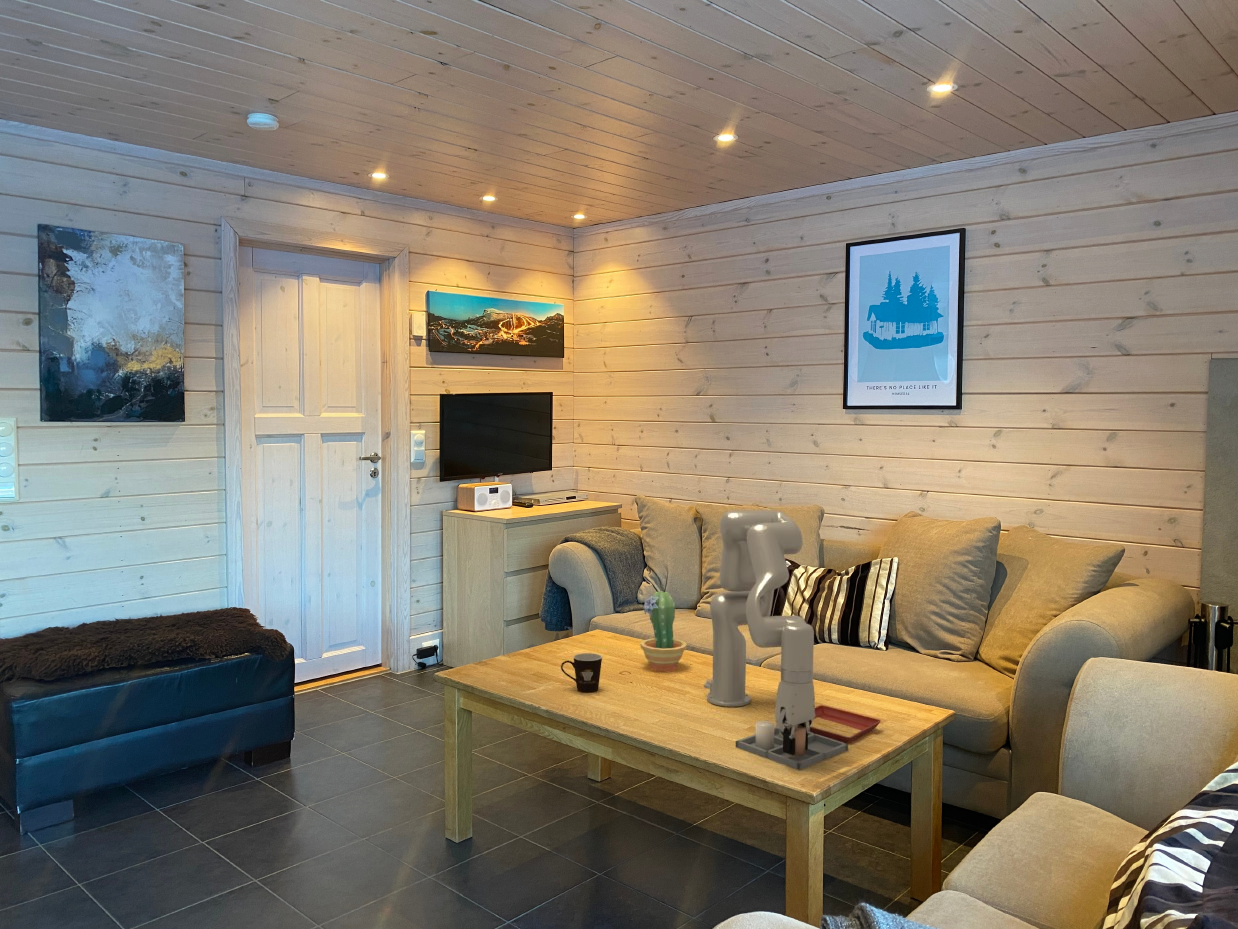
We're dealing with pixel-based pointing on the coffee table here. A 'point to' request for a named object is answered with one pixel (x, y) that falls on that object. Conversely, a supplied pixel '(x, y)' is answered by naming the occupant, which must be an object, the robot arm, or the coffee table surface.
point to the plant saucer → (844, 722)
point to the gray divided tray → (815, 753)
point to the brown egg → (799, 740)
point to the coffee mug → (586, 671)
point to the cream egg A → (764, 735)
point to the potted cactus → (662, 634)
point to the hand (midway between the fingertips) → (795, 750)
